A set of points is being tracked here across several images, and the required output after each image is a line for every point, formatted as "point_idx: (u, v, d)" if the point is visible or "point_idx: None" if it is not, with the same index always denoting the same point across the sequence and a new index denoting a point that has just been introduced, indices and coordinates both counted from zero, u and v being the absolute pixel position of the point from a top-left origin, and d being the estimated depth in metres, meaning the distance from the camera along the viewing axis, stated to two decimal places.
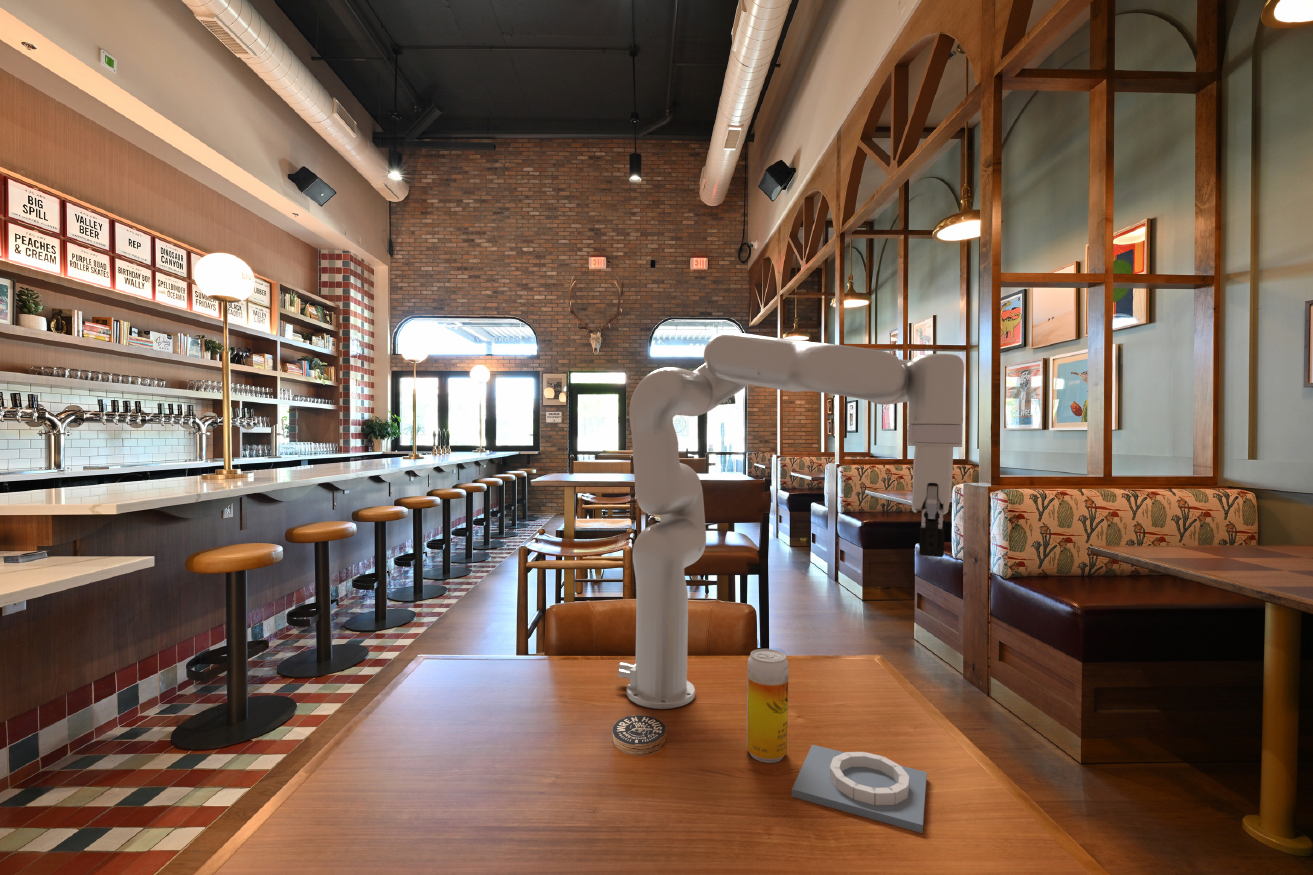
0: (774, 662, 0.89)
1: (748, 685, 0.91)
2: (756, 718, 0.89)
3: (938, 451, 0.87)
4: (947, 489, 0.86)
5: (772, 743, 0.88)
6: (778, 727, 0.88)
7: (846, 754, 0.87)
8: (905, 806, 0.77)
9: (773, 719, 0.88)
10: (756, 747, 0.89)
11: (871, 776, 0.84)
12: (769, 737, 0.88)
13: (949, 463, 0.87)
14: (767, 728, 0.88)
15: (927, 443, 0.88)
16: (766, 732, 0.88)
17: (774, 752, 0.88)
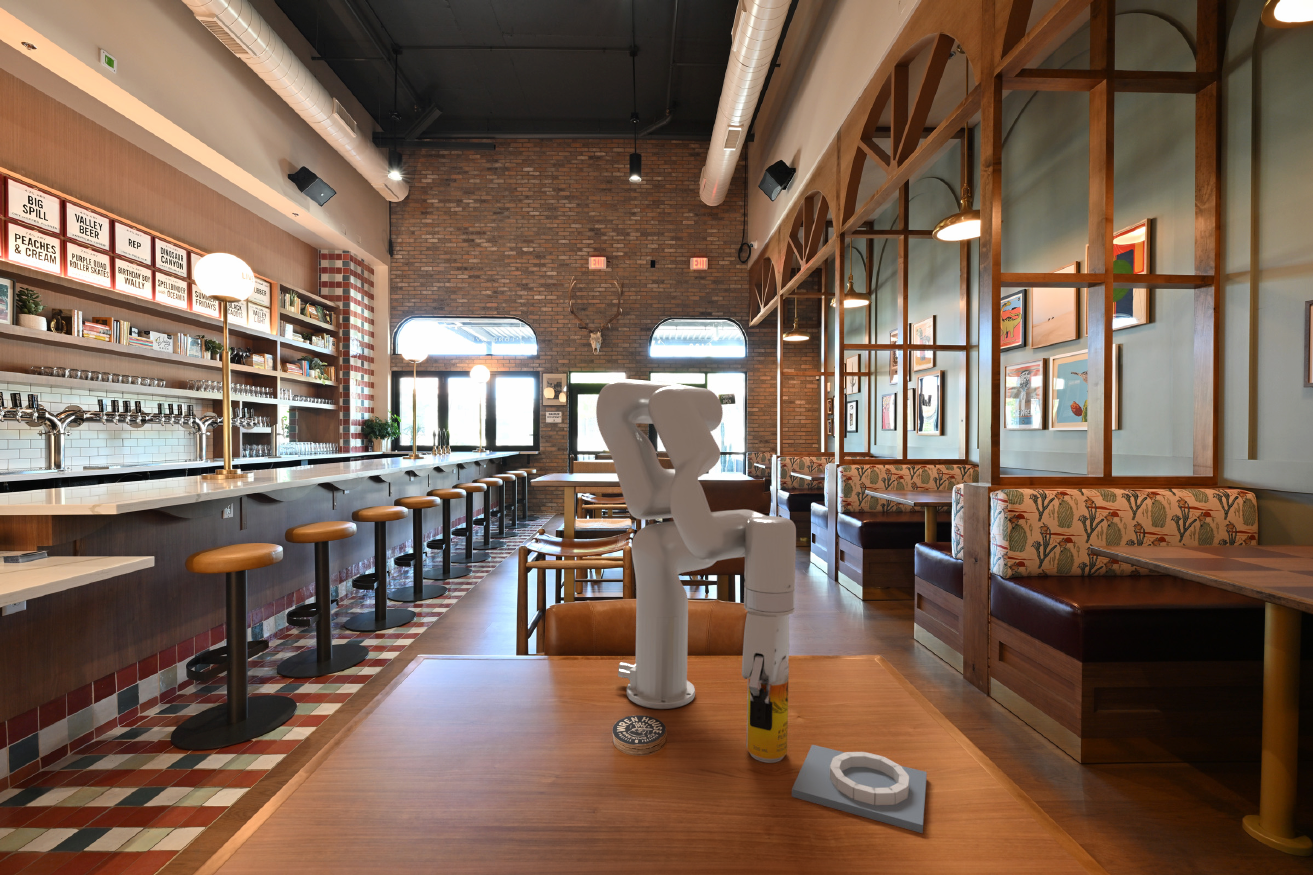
0: None
1: (748, 685, 0.91)
2: None
3: (765, 621, 0.87)
4: (772, 660, 0.86)
5: (772, 743, 0.88)
6: (778, 727, 0.88)
7: (846, 754, 0.87)
8: (905, 806, 0.77)
9: (773, 719, 0.88)
10: (756, 747, 0.89)
11: (871, 776, 0.84)
12: (770, 737, 0.88)
13: (775, 633, 0.87)
14: None
15: (756, 610, 0.88)
16: (767, 732, 0.88)
17: (774, 752, 0.88)
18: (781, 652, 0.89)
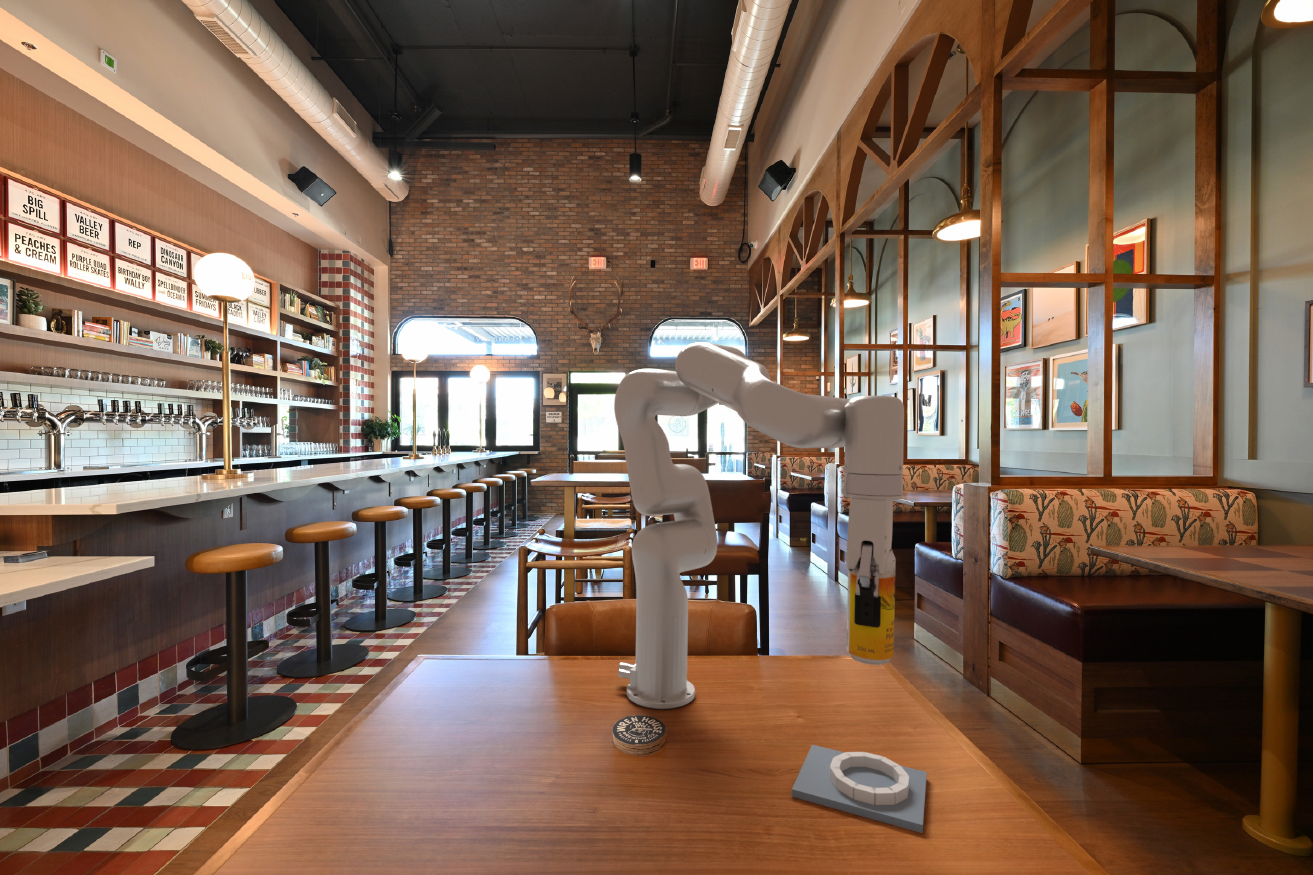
0: None
1: (850, 581, 0.82)
2: None
3: (874, 505, 0.78)
4: (883, 548, 0.77)
5: (880, 642, 0.79)
6: (886, 625, 0.80)
7: (846, 754, 0.87)
8: (905, 806, 0.77)
9: (881, 616, 0.79)
10: (861, 648, 0.80)
11: (871, 776, 0.84)
12: (877, 636, 0.79)
13: (886, 518, 0.78)
14: None
15: (862, 495, 0.79)
16: (874, 631, 0.79)
17: (882, 652, 0.80)
18: (889, 542, 0.80)
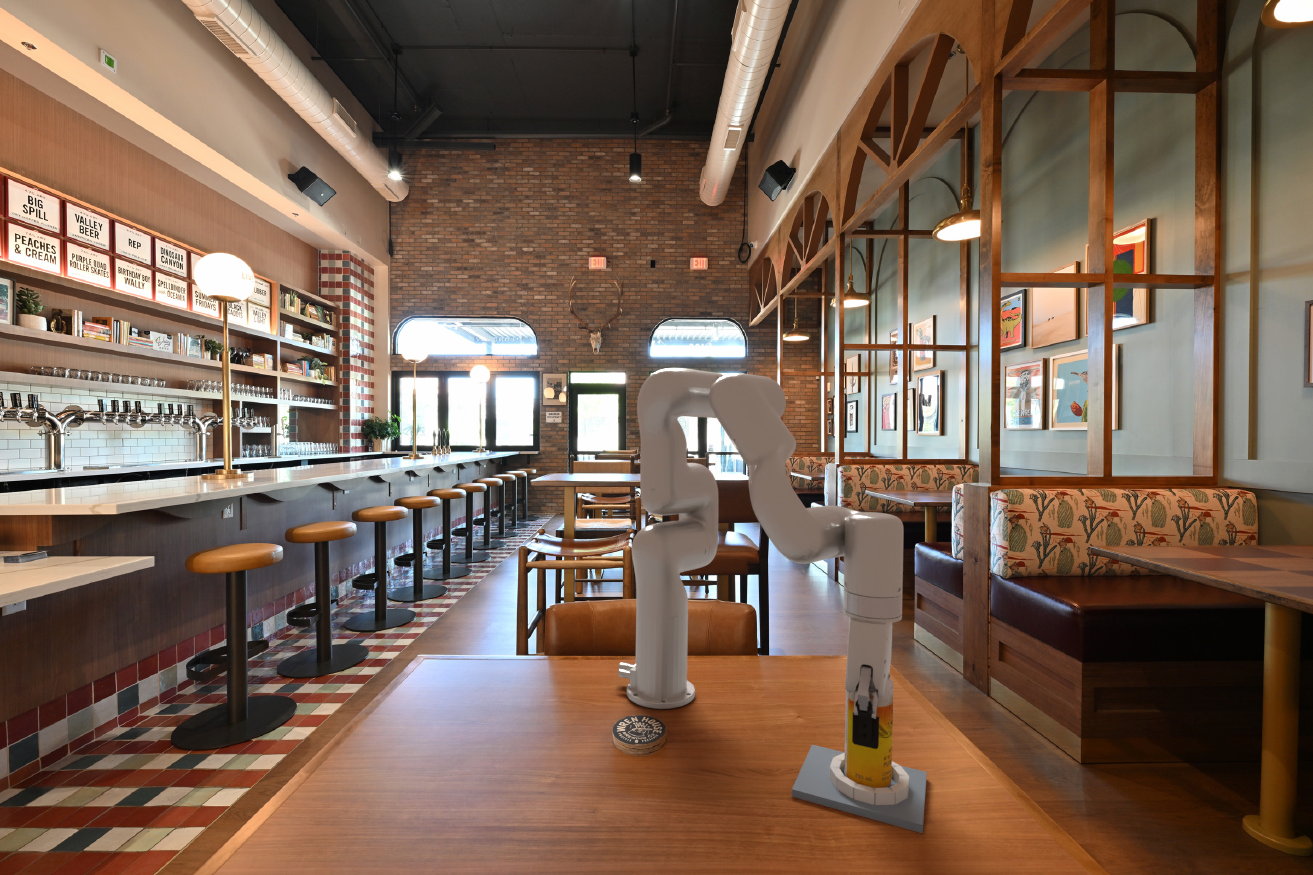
0: None
1: (848, 705, 0.82)
2: None
3: (873, 628, 0.78)
4: (882, 673, 0.77)
5: (877, 771, 0.80)
6: (884, 753, 0.80)
7: None
8: (905, 806, 0.77)
9: (879, 745, 0.80)
10: (858, 775, 0.80)
11: None
12: (875, 765, 0.80)
13: (885, 642, 0.78)
14: (872, 754, 0.80)
15: (862, 617, 0.79)
16: (871, 759, 0.80)
17: (880, 781, 0.80)
18: (888, 663, 0.80)
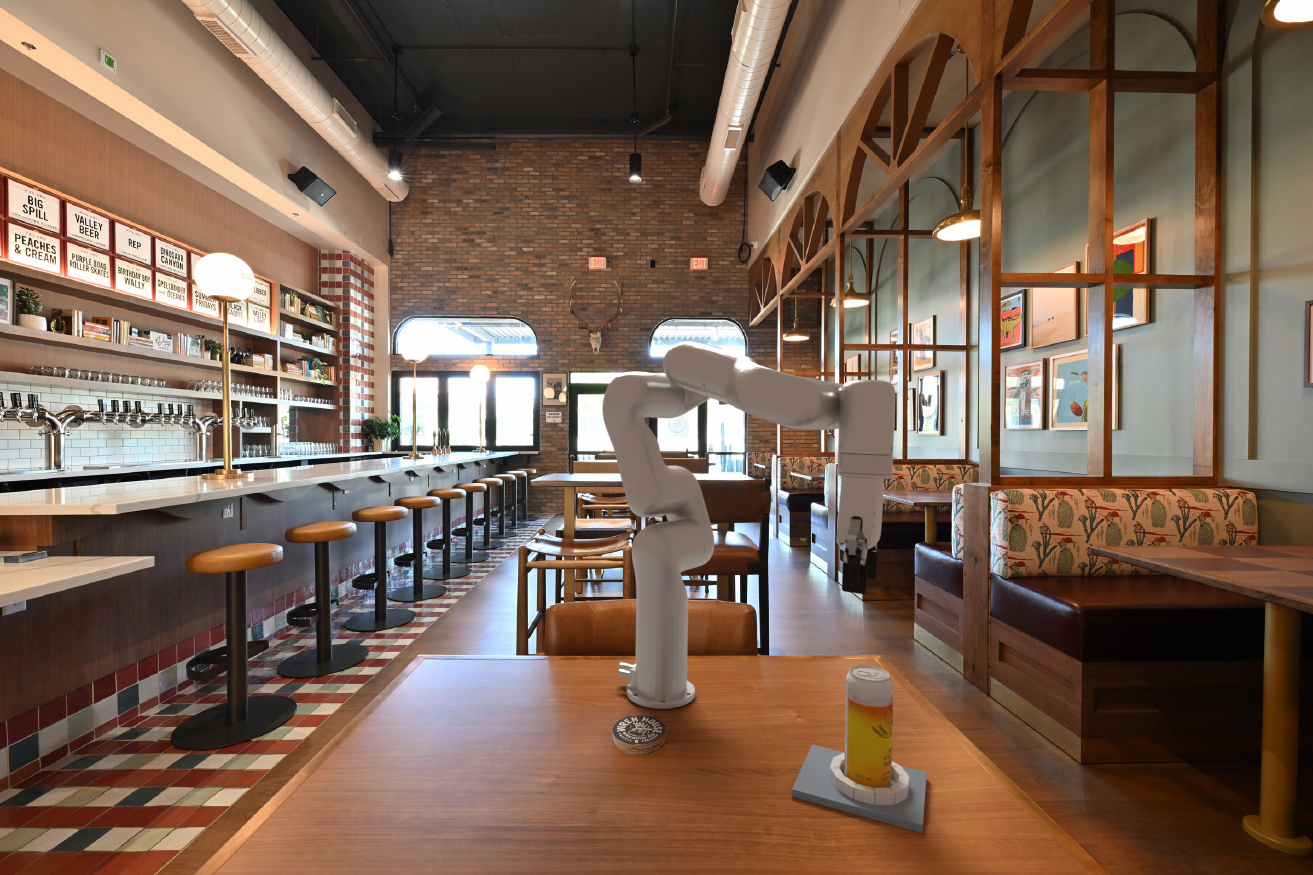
0: (879, 681, 0.80)
1: (848, 705, 0.82)
2: (859, 742, 0.80)
3: (863, 482, 0.83)
4: (871, 523, 0.82)
5: (877, 771, 0.80)
6: (883, 753, 0.80)
7: None
8: (905, 806, 0.77)
9: (879, 745, 0.80)
10: (858, 775, 0.80)
11: None
12: (875, 765, 0.80)
13: (875, 496, 0.83)
14: (872, 754, 0.80)
15: (853, 474, 0.84)
16: (871, 759, 0.80)
17: (880, 781, 0.80)
18: (878, 519, 0.85)
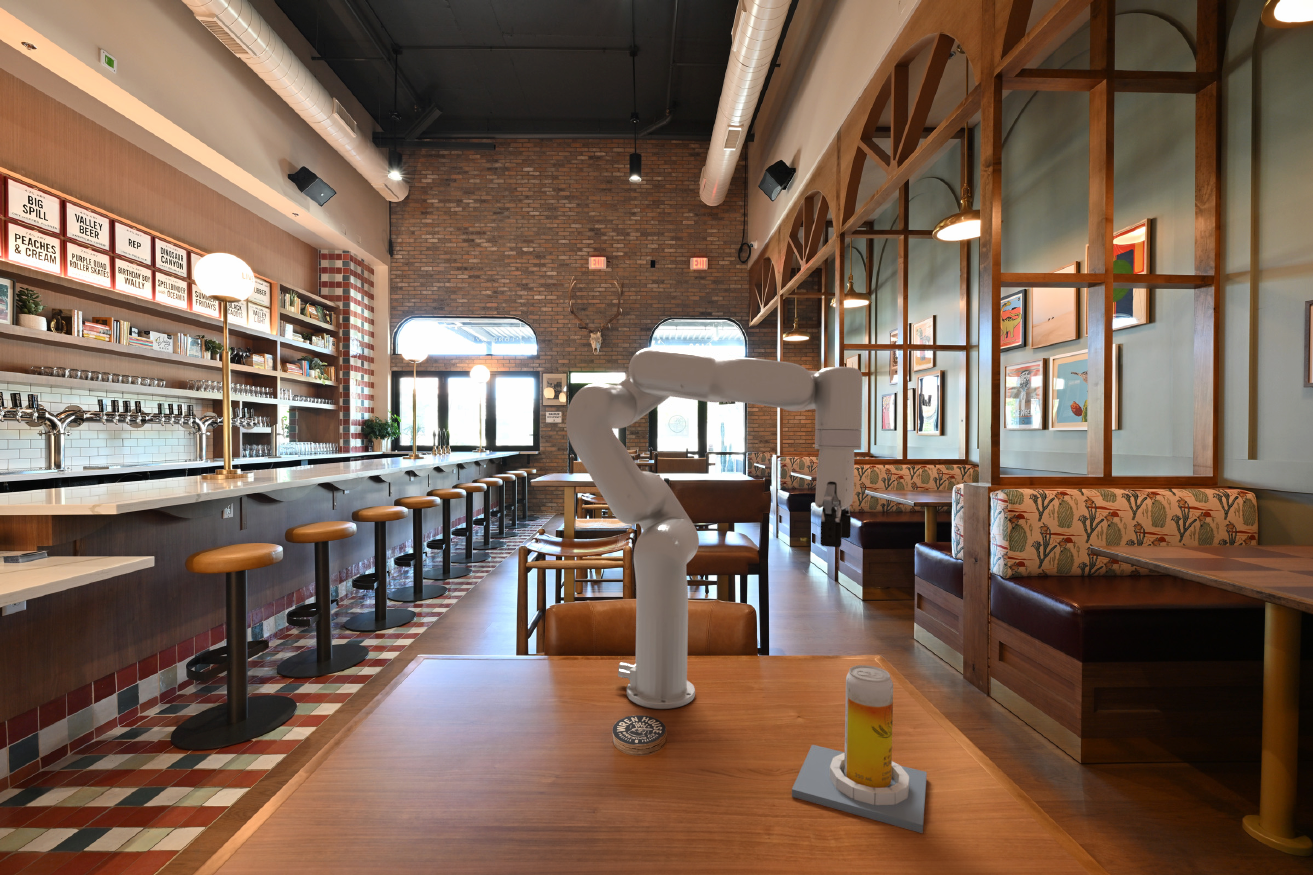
0: (879, 681, 0.80)
1: (848, 705, 0.82)
2: (859, 742, 0.80)
3: (837, 453, 0.98)
4: (844, 487, 0.97)
5: (877, 771, 0.80)
6: (883, 753, 0.80)
7: None
8: (905, 806, 0.77)
9: (879, 745, 0.80)
10: (858, 775, 0.80)
11: None
12: (875, 765, 0.80)
13: (846, 464, 0.98)
14: (872, 754, 0.80)
15: (828, 446, 0.99)
16: (871, 759, 0.80)
17: (880, 781, 0.80)
18: (850, 484, 1.00)
